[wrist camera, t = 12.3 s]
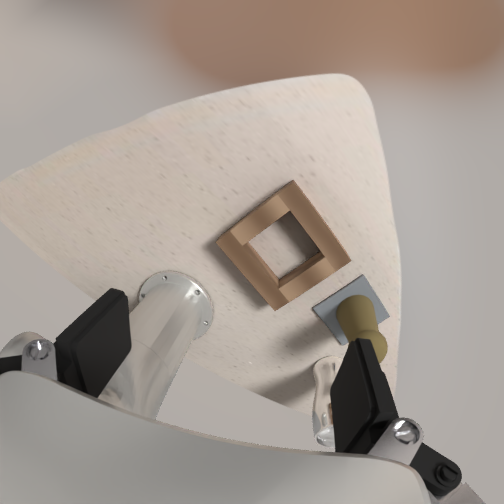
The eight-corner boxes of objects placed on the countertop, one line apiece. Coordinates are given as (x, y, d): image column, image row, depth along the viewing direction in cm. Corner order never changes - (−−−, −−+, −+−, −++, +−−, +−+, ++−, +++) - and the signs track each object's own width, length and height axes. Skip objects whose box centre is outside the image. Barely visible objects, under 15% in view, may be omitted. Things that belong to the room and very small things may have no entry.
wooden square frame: (275, 300, 43) (274, 311, 40) (220, 235, 41) (215, 242, 38) (347, 253, 39) (351, 260, 37) (293, 179, 37) (293, 181, 34)
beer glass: (306, 358, 46) (309, 428, 32) (347, 349, 45) (361, 418, 31) (313, 385, 48) (315, 452, 34) (350, 377, 47) (362, 443, 33)
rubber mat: (342, 344, 44) (342, 345, 44) (312, 307, 43) (312, 308, 42) (389, 315, 42) (389, 316, 41) (363, 274, 40) (363, 275, 40)
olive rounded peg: (370, 328, 42) (387, 374, 32) (333, 328, 43) (342, 376, 33) (376, 294, 40) (398, 337, 30) (338, 294, 41) (351, 338, 31)
